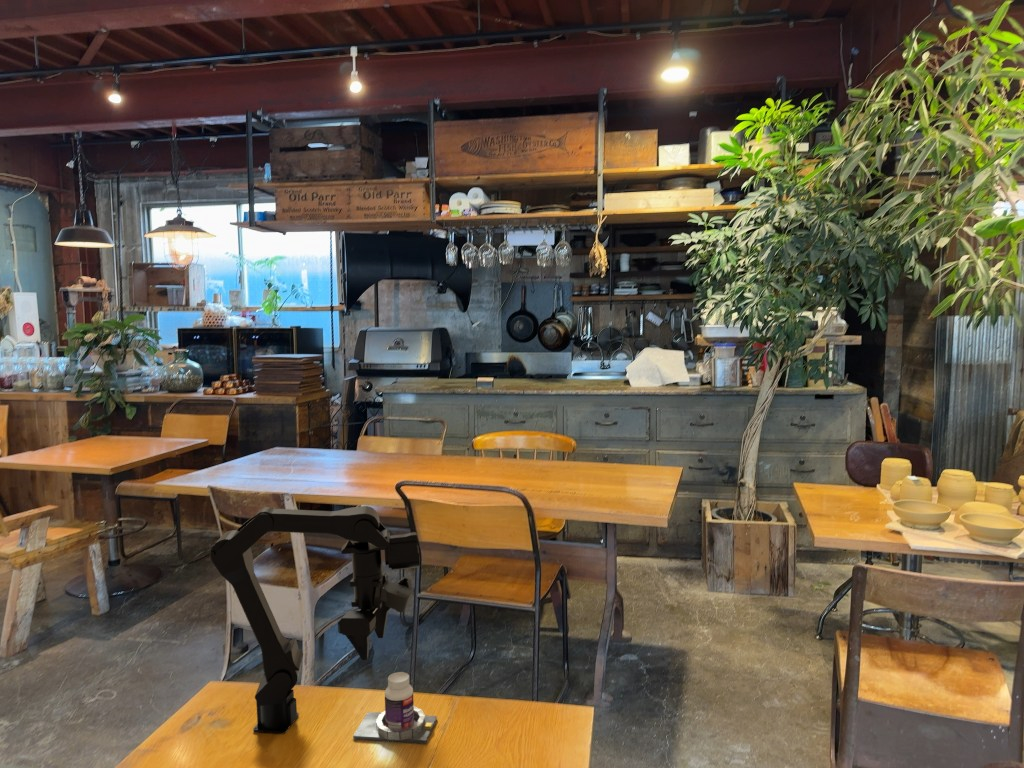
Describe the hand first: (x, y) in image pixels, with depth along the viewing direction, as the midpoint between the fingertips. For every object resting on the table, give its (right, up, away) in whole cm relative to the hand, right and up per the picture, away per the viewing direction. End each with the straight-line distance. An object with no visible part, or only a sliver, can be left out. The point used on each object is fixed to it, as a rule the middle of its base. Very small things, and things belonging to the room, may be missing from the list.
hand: (373, 648), depth 135 cm
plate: (+5, -14, -5) cm, 15 cm away
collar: (+7, -13, -5) cm, 16 cm away
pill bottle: (+6, -13, -5) cm, 15 cm away
